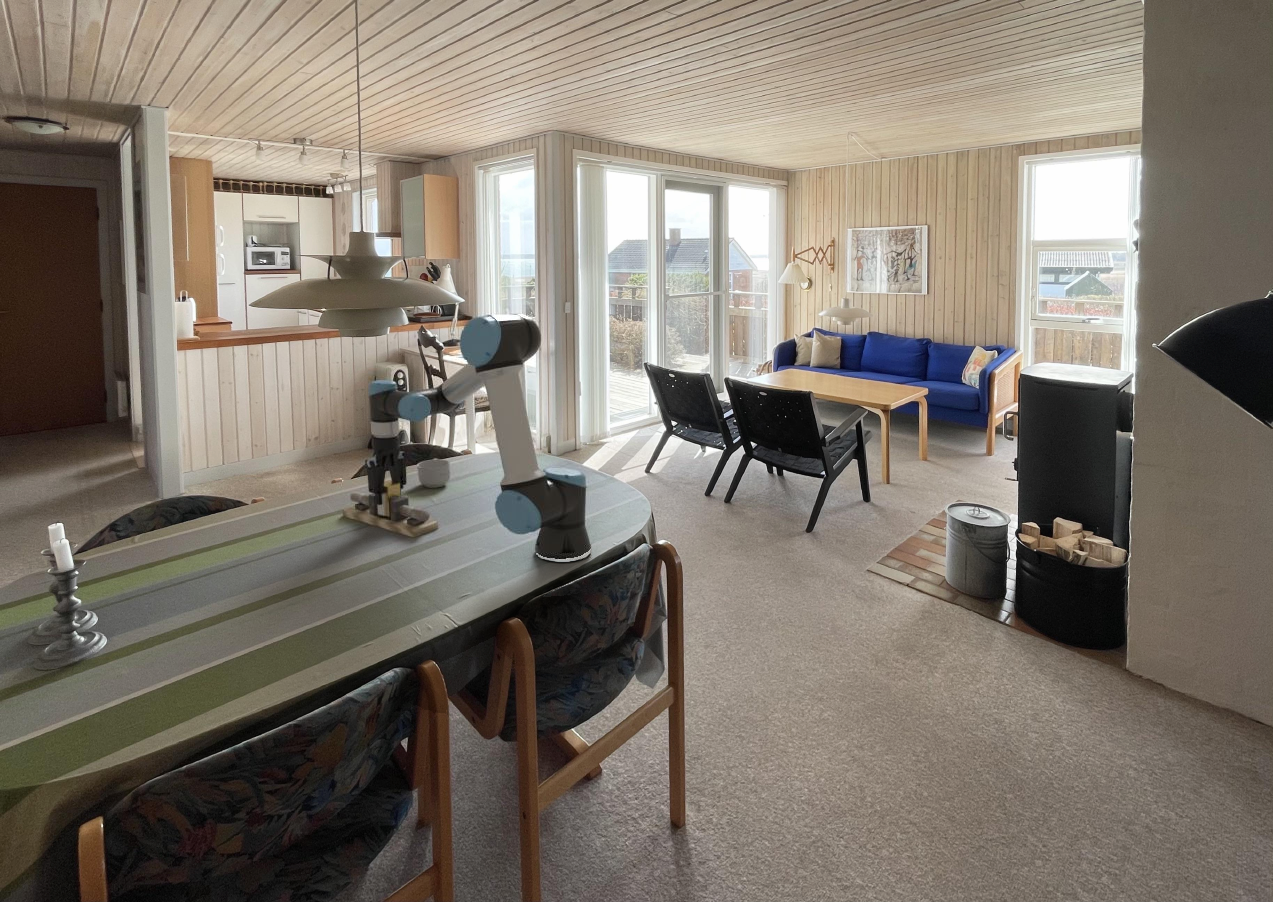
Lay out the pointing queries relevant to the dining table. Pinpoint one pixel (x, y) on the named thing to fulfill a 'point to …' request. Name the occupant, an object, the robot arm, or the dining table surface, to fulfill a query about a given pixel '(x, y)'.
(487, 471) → the dining table surface
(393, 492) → the block
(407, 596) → the dining table surface
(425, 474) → the teacup
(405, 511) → the shaft rig
